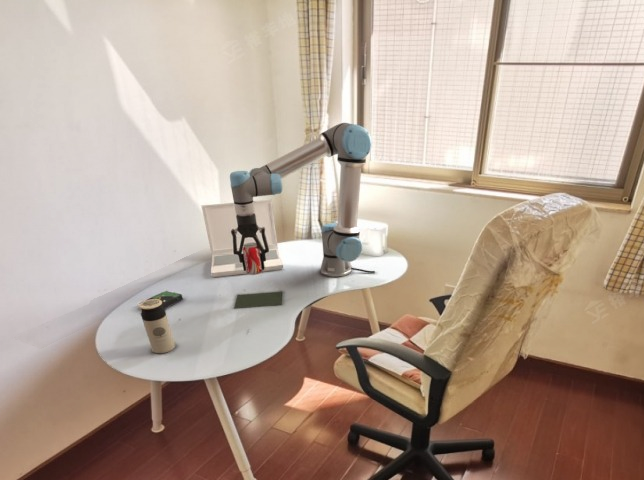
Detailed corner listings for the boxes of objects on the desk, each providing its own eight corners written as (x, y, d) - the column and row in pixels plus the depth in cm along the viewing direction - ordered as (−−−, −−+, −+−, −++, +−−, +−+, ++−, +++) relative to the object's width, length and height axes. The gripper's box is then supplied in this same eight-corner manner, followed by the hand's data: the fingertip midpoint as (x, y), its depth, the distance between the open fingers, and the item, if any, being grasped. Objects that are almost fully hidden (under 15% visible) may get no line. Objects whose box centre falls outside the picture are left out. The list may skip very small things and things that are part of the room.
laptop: (212, 278, 224) (199, 218, 208) (213, 260, 245) (201, 205, 229) (283, 269, 230) (276, 211, 214) (278, 253, 251) (271, 199, 235)
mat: (282, 291, 207) (282, 291, 207) (281, 304, 196) (281, 304, 196) (237, 295, 206) (237, 294, 206) (234, 308, 194) (234, 308, 194)
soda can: (259, 276, 192) (255, 247, 186) (243, 275, 194) (238, 247, 187) (265, 269, 198) (261, 242, 191) (250, 269, 199) (245, 241, 193)
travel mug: (154, 344, 170) (139, 300, 160) (176, 341, 172) (163, 297, 162) (151, 355, 164) (136, 309, 154) (174, 352, 165) (161, 306, 155)
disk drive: (157, 313, 193) (183, 299, 203) (155, 307, 191) (182, 293, 202) (140, 309, 197) (167, 295, 208) (138, 303, 196) (165, 289, 206)
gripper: (218, 217, 178) (229, 273, 191) (270, 214, 180) (277, 270, 193) (221, 212, 185) (231, 267, 197) (271, 209, 186) (278, 264, 199)
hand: (254, 269), depth 195 cm, fingers closed on soda can, 7 cm apart
